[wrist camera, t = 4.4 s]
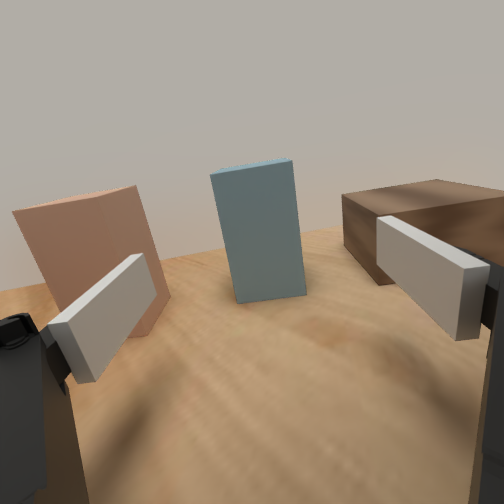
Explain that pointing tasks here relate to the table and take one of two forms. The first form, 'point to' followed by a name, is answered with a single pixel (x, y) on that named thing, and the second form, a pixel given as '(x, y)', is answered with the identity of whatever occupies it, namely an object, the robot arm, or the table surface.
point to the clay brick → (92, 245)
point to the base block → (426, 219)
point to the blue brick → (261, 229)
